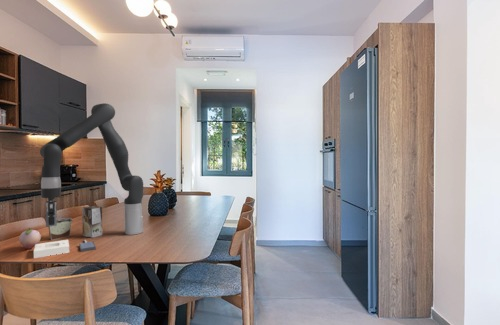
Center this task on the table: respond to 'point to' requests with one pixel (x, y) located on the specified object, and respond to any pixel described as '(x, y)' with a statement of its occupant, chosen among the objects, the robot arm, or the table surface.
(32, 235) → the decorative fruit
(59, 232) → the food container
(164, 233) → the table surface
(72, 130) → the robot arm
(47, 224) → the charger
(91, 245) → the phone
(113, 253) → the table surface
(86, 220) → the coffee box
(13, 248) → the table surface
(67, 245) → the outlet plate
